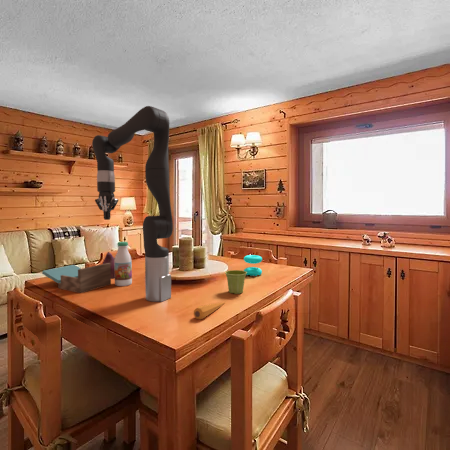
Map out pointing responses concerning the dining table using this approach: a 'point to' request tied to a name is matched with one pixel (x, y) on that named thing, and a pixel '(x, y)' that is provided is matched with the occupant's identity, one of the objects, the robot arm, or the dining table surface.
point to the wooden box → (87, 279)
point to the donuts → (253, 260)
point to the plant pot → (235, 280)
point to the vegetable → (111, 260)
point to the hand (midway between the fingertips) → (107, 219)
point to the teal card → (61, 272)
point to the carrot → (206, 310)
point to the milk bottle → (123, 265)
